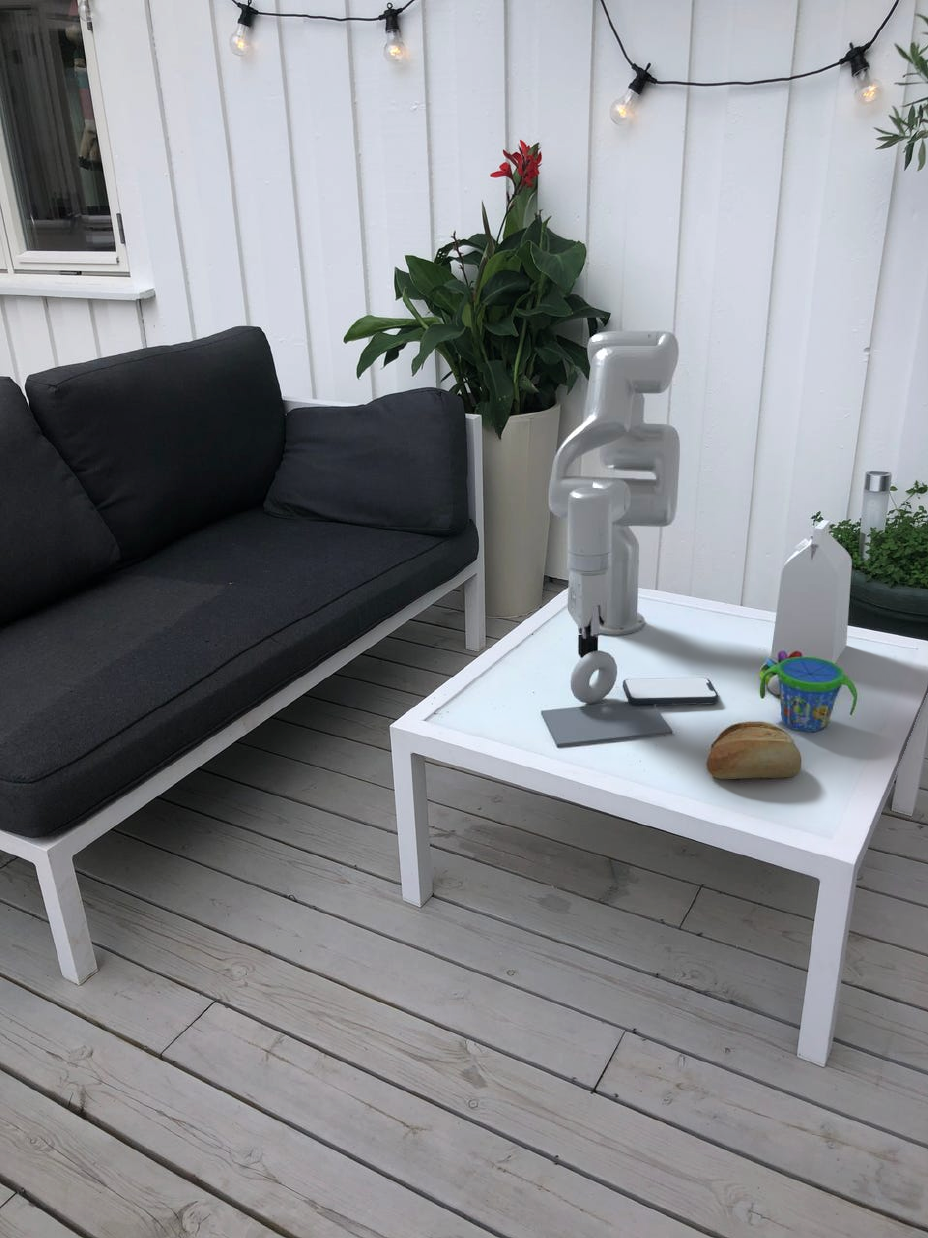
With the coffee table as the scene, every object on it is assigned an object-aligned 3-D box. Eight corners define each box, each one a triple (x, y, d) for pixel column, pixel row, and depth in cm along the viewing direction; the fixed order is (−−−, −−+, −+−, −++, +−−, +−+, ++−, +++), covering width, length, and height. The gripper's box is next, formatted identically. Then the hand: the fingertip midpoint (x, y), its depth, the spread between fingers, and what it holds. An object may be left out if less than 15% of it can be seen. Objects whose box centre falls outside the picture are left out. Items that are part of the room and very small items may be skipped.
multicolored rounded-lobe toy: (819, 697, 180) (823, 660, 178) (765, 699, 181) (768, 662, 178) (804, 676, 188) (808, 640, 185) (752, 678, 188) (755, 642, 186)
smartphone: (629, 707, 178) (719, 705, 178) (630, 699, 177) (720, 697, 177) (621, 686, 186) (707, 684, 186) (621, 678, 186) (708, 676, 186)
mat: (541, 713, 178) (541, 710, 178) (650, 702, 181) (650, 699, 180) (556, 747, 167) (556, 743, 167) (672, 734, 170) (672, 731, 169)
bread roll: (695, 762, 162) (697, 718, 158) (785, 753, 163) (789, 709, 160) (716, 794, 153) (719, 748, 150) (810, 784, 154) (815, 739, 151)
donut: (577, 713, 177) (580, 662, 173) (565, 705, 180) (567, 655, 176) (619, 698, 183) (623, 648, 179) (606, 691, 185) (609, 641, 181)
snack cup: (860, 721, 172) (867, 667, 168) (843, 748, 164) (850, 692, 160) (769, 700, 180) (774, 648, 176) (749, 725, 172) (753, 671, 168)
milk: (831, 668, 191) (846, 537, 181) (770, 657, 196) (782, 529, 186) (846, 645, 200) (861, 519, 190) (787, 635, 206) (799, 512, 196)
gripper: (558, 547, 181) (558, 641, 188) (578, 575, 167) (578, 675, 174) (598, 544, 182) (597, 637, 189) (622, 571, 168) (620, 671, 175)
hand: (587, 655), depth 181 cm, fingers closed
